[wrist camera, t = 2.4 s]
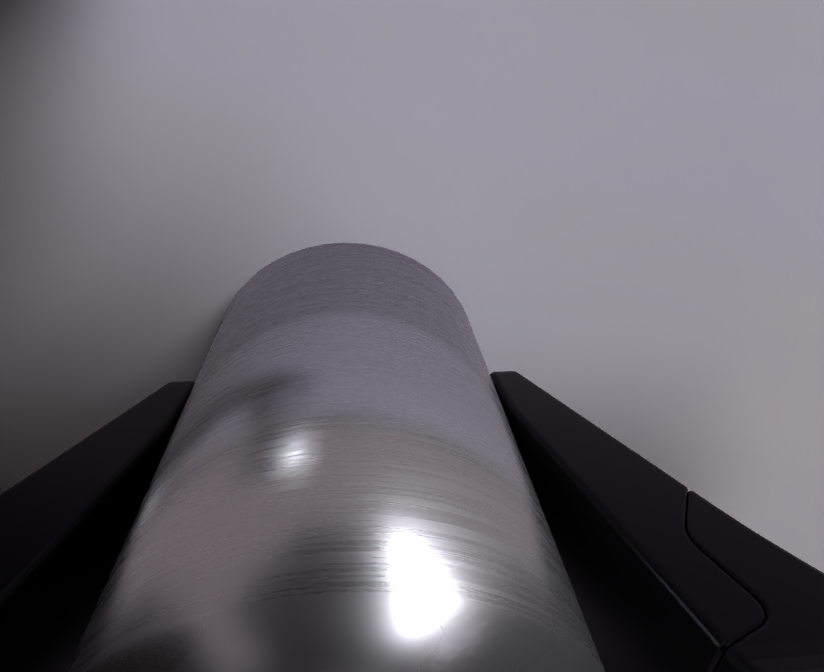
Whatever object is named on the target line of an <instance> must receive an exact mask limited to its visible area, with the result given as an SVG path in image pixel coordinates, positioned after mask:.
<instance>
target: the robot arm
mask: <svg viewBox="0 0 824 672" xmlns="http://www.w3.org/2000/svg"><path fill="white" fill-rule="evenodd" d="M490 376H491V379H492V382H493V384H494V387H495V389H496V392H497V394H498V397H499V400H500V402H501V405H502V407H503V410H504V412H505V415H506V418H507V420H508V423H509V425H510V428H511V430H512V433H513V436H514V438H515V441H516V443H517V446H518V448H519V451H520V454H521V456H522V459H523V461H524V464H525V466H526V469H527V472H528V474H529V477H530V479H531V482H532V484H533V487H534V490H535V492H536V495H537V497H538V500H539V503H540V505H541V508H542V510H543V513H544V515H545V518H546V521H547V523H548V526H549V528H550V531H551V533H552V536H553V539H554V541H555V544H556V546H557V549H558V551H559V554H560V557H561V559H562V562H563V564H564V567H565V569H566V572H567V575H568V577H569V580H570V582H571V585H572V587H573V590H574V593H575V595H576V598H577V600H578V603H579V605H580V608H581V611H582V613H583V616H584V618H585V621H586V623H587V626H588V629H589V631H590V634H591V636H592V639H593V642H594V644H595V647H596V649H597V652H598V654H599V657H600V660H601V662H602V665H603V667H604V670H605V672H824V573H822V572H821V571H819V570H817V569H816V568H814V567H812V566H810V565H809V564H807V563H805V562H804V561H802V560H800V559H799V558H797V557H795V556H794V555H792V554H790V553H789V552H787V551H785V550H784V549H782V548H780V547H779V546H777V545H775V544H774V543H772V542H770V541H769V540H767V539H765V538H764V537H762V536H760V535H759V534H757V533H755V532H754V531H752V530H751V529H749V528H748V527H746V526H745V525H743V524H742V523H740V522H739V521H737V520H735V519H734V518H732V517H731V516H729V515H728V514H726V513H725V512H723V511H722V510H720V509H719V508H717V507H715V506H714V505H713V504H711V503H710V502H708V501H707V500H705V499H704V498H702V497H701V496H699V495H698V494H696V493H695V492H693V491H689V492H688V489H687V487H686V486H684V485H683V484H681V483H680V482H678V481H677V480H675V479H674V478H672V477H671V476H669V475H668V474H666V473H665V472H663V471H662V470H661V469H659V468H658V467H656V466H655V465H653V464H652V463H650V462H649V461H647V460H646V459H644V458H643V457H641V456H640V455H638V454H637V453H635V452H634V451H632V450H631V449H630V448H628V447H627V446H625V445H624V444H622V443H621V442H619V441H618V440H616V439H615V438H613V437H612V436H610V435H609V434H607V433H606V432H604V431H603V430H601V429H600V428H599V427H597V426H596V425H594V424H593V423H591V422H590V421H588V420H587V419H585V418H584V417H582V416H581V415H579V414H578V413H576V412H575V411H573V410H572V409H570V408H569V407H568V406H566V405H565V404H563V403H562V402H560V401H559V400H557V399H556V398H554V397H553V396H551V395H550V394H548V393H547V392H545V391H544V390H542V389H541V388H539V387H538V386H536V385H535V384H534V383H532V382H531V381H529V380H528V379H526V378H525V377H523V376H522V375H520V374H519V373H517V372H514V371H505V372H492V373H491V374H490ZM194 384H195V382H194V381H189V382H170V383H168V384H166V385H165V386H163V387H162V388H160V389H159V390H157V391H156V392H154V393H153V394H151V395H150V396H148V397H147V398H145V399H144V400H142V401H141V402H139V403H138V404H136V405H135V406H133V407H132V408H130V409H129V410H127V411H126V412H124V413H123V414H121V415H120V416H118V417H117V418H115V419H114V420H112V421H111V422H109V423H108V424H106V425H105V426H103V427H102V428H100V429H99V430H97V431H96V432H94V433H93V434H91V435H90V436H88V437H87V438H85V439H84V440H82V441H81V442H79V443H78V444H76V445H75V446H73V447H72V448H70V449H69V450H67V451H66V452H64V453H63V454H61V455H60V456H58V457H57V458H55V459H54V460H52V461H51V462H49V463H48V464H46V465H45V466H43V467H42V468H40V469H39V470H37V471H36V472H34V473H33V474H31V475H30V476H28V477H27V478H25V479H24V480H22V481H21V482H19V483H18V484H16V485H15V486H13V487H12V488H10V489H9V490H7V491H6V492H4V493H3V494H1V495H0V672H67V671H68V669H69V666H70V664H71V662H72V660H73V657H74V655H75V653H76V651H77V648H78V646H79V644H80V641H81V639H82V637H83V635H84V632H85V630H86V628H87V626H88V623H89V621H90V619H91V617H92V614H93V612H94V610H95V608H96V605H97V603H98V601H99V599H100V596H101V594H102V592H103V590H104V587H105V585H106V583H107V580H108V578H109V576H110V574H111V571H112V569H113V567H114V565H115V562H116V560H117V558H118V556H119V553H120V551H121V549H122V547H123V544H124V542H125V540H126V538H127V535H128V533H129V531H130V529H131V526H132V524H133V522H134V519H135V517H136V515H137V513H138V510H139V508H140V506H141V504H142V501H143V499H144V497H145V495H146V492H147V490H148V488H149V486H150V483H151V481H152V479H153V477H154V474H155V472H156V470H157V468H158V465H159V463H160V461H161V459H162V456H163V454H164V452H165V449H166V447H167V445H168V443H169V440H170V438H171V436H172V434H173V431H174V429H175V427H176V425H177V422H178V420H179V418H180V416H181V413H182V411H183V409H184V407H185V404H186V402H187V400H188V398H189V395H190V393H191V391H192V388H193V386H194Z"/></svg>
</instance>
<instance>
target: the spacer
mask: <svg viewBox="0 0 824 672" xmlns="http://www.w3.org/2000/svg"><path fill="white" fill-rule="evenodd" d="M67 672H605V670H604V667H603V665H602V662H601V660H600V657H599V654H598V652H597V649H596V647H595V644H594V642H593V639H592V636H591V634H590V631H589V629H588V626H587V623H586V621H585V618H584V616H583V613H582V611H581V608H580V605H579V603H578V600H577V598H576V595H575V593H574V590H573V587H572V585H571V582H570V580H569V577H568V575H567V572H566V569H565V567H564V564H563V562H562V559H561V557H560V554H559V551H558V549H557V546H556V544H555V541H554V539H553V536H552V533H551V531H550V528H549V526H548V523H547V521H546V518H545V515H544V513H543V510H542V508H541V505H540V503H539V500H538V497H537V495H536V492H535V490H534V487H533V484H532V482H531V479H530V477H529V474H528V472H527V469H526V466H525V464H524V461H523V459H522V456H521V454H520V451H519V448H518V446H517V443H516V441H515V438H514V436H513V433H512V430H511V428H510V425H509V423H508V420H507V418H506V415H505V412H504V410H503V407H502V405H501V402H500V400H499V397H498V394H497V392H496V389H495V387H494V384H493V382H492V379H491V376H490V374H489V371H488V369H487V366H486V363H485V361H484V358H483V356H482V353H481V351H480V348H479V345H478V343H477V340H476V338H475V335H474V333H473V330H472V327H471V325H470V322H469V320H468V317H467V315H466V313H465V311H464V309H463V307H462V305H461V303H460V302H459V300H458V299H457V297H456V296H455V294H454V293H453V291H452V290H451V289H450V288H449V287H448V286H447V285H446V283H445V282H444V281H443V280H442V279H441V278H439V277H438V276H437V275H436V274H435V273H433V272H432V271H431V270H430V269H428V268H427V267H425V266H424V265H422V264H421V263H419V262H417V261H416V260H414V259H412V258H410V257H407V256H405V255H403V254H401V253H399V252H395V251H392V250H389V249H386V248H383V247H378V246H372V245H367V244H357V243H335V244H324V245H319V246H314V247H309V248H305V249H302V250H299V251H296V252H293V253H290V254H288V255H286V256H284V257H282V258H280V259H278V260H276V261H274V262H272V263H271V264H269V265H268V266H266V267H265V268H263V269H262V270H260V271H259V272H258V273H257V274H256V275H254V276H253V277H252V278H251V279H250V280H249V281H248V282H247V283H246V284H245V285H244V286H243V287H242V289H241V290H240V291H239V292H238V293H237V295H236V296H235V298H234V299H233V301H232V303H231V304H230V306H229V308H228V309H227V312H226V314H225V316H224V318H223V321H222V323H221V325H220V327H219V330H218V332H217V334H216V337H215V339H214V341H213V343H212V346H211V348H210V350H209V352H208V355H207V357H206V359H205V361H204V364H203V366H202V368H201V370H200V373H199V375H198V377H197V379H196V382H195V384H194V386H193V388H192V391H191V393H190V395H189V398H188V400H187V402H186V404H185V407H184V409H183V411H182V413H181V416H180V418H179V420H178V422H177V425H176V427H175V429H174V431H173V434H172V436H171V438H170V440H169V443H168V445H167V447H166V449H165V452H164V454H163V456H162V459H161V461H160V463H159V465H158V468H157V470H156V472H155V474H154V477H153V479H152V481H151V483H150V486H149V488H148V490H147V492H146V495H145V497H144V499H143V501H142V504H141V506H140V508H139V510H138V513H137V515H136V517H135V519H134V522H133V524H132V526H131V529H130V531H129V533H128V535H127V538H126V540H125V542H124V544H123V547H122V549H121V551H120V553H119V556H118V558H117V560H116V562H115V565H114V567H113V569H112V571H111V574H110V576H109V578H108V580H107V583H106V585H105V587H104V590H103V592H102V594H101V596H100V599H99V601H98V603H97V605H96V608H95V610H94V612H93V614H92V617H91V619H90V621H89V623H88V626H87V628H86V630H85V632H84V635H83V637H82V639H81V641H80V644H79V646H78V648H77V651H76V653H75V655H74V657H73V660H72V662H71V664H70V666H69V669H68V671H67Z"/></svg>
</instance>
